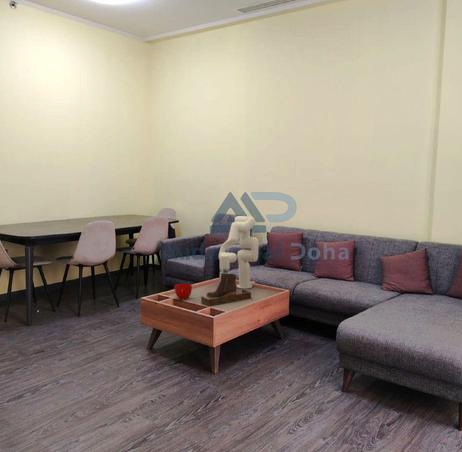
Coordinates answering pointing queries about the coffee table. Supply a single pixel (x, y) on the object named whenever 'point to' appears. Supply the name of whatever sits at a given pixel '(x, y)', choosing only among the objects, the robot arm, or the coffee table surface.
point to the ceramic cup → (183, 291)
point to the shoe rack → (226, 298)
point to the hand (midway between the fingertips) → (225, 293)
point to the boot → (225, 286)
